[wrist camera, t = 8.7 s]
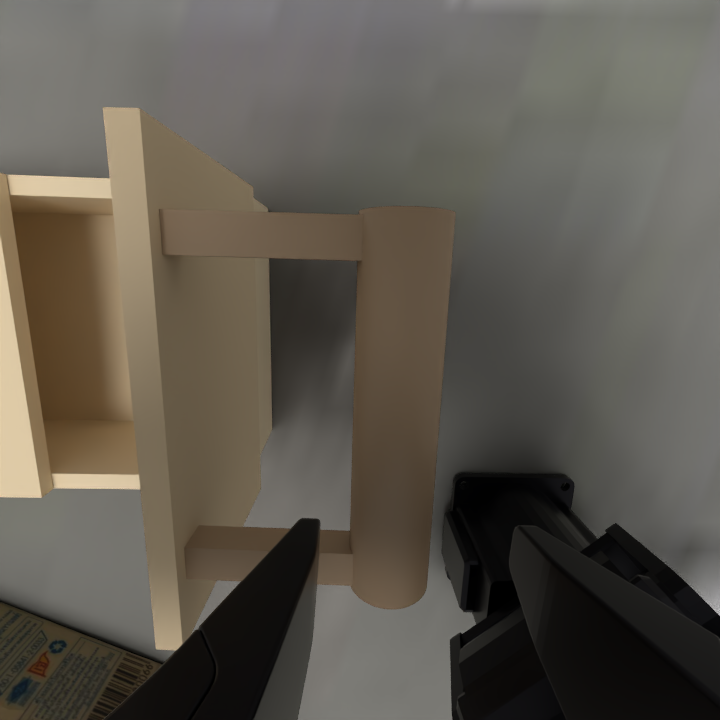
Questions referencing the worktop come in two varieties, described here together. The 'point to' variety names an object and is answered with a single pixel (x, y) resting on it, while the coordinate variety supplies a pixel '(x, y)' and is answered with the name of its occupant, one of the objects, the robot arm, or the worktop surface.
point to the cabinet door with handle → (240, 371)
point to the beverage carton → (61, 671)
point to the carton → (74, 340)
